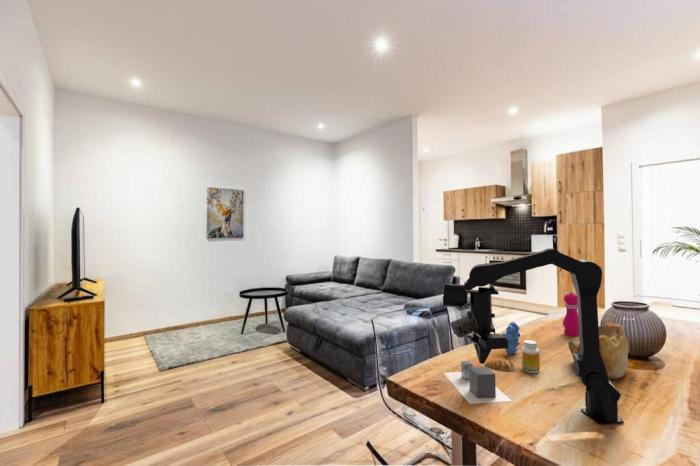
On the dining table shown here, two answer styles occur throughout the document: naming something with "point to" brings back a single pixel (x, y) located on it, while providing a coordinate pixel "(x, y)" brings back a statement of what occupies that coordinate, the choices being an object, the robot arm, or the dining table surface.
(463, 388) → the board
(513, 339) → the grapes
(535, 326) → the dining table surface
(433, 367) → the dining table surface
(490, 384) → the dark gray block
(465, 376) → the steel post
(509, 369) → the pastry
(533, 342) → the supplement bottle
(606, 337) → the rough brown rock
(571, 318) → the pepper mill
